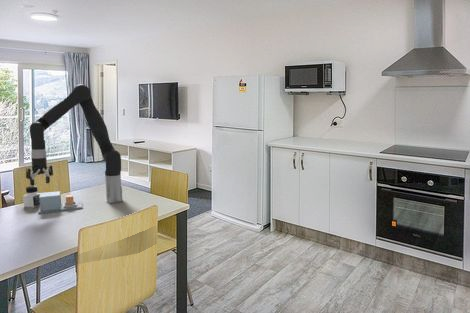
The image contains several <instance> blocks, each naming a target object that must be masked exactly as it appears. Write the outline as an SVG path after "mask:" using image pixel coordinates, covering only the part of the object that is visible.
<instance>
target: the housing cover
mask: <svg viewBox="0 0 470 313" xmlns="http://www.w3.org/2000/svg"><path fill="white" fill-rule="evenodd" d="M39 193H40V196H39V200H40V205H39V208H40V211H47V210H55V209H61V204H62V198H61V197H62V196H61V191H57V190H56V191H49V192H48V191H47V192H39Z"/></svg>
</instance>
